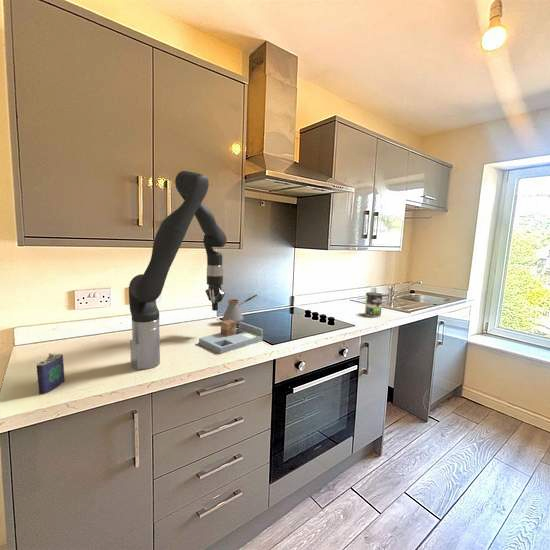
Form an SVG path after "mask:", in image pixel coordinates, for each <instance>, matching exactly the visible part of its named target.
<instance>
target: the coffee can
mask: <svg viewBox="0 0 550 550" xmlns="http://www.w3.org/2000/svg"><path fill="white" fill-rule="evenodd" d="M383 296H384V294H383V293H380V292H371V291H370V292H368V291H367V292H365V307H364V315H365V316H367V317H371V318H379V317H382V306H383Z"/></svg>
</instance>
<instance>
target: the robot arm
mask: <svg viewBox="0 0 550 550" xmlns="http://www.w3.org/2000/svg"><path fill="white" fill-rule="evenodd" d="M174 182H175V188H176V190H177V192H178V194H179V195H180V196H181V197H182V200H183V202H182V203H181V205H180V206H179V207H177V208H176V209H175V210H174V211H173V212H171V213H170V214H169V215H168V216H166V217H165V218H164V219H163V220H162V222H161V223H160V226H159V227H158V230H157V231H156V234H155V237H154V240H153V242H152V243H153V244H152V249H151V257H150V260H149V263H148V265H147V266H146V269H145V271H144V273H143V274H142V273H141V274H137V275H136V276H134V277H133V278H132V279H131V280H130V282H129V286H128V302H129V303H128V304H129V311H130V315H131V335H132V336H131V339H130V342H129V345H130V349H129V350H130V366H132V367H133V368H134V369H136V370H137V371H139V370H148V369H153V368H155V367H157V366H159V365H160V364H161V350H160V349H161V347H160V346H161V341H160V339H161V338H160V337H161V336H160V335H161V334H160V330H161V329H160V311H159V308H158V306H157V305H158V304H157V299H159V297H160V295H161V294H162V292H163V288H164V287H165V283H166V279H167V277H168V274H169V271H170V268H171V267H172V265H173V262H174V261H175V258H176V256H177V253H178V251H179V250H180V248H181V245H182V243H183V242H184V241H183V240H184V238H185V236H186V233H187V232H188V229H189V228H190V225H191V223H192V221H193V219H194V217H195V218H196V220H197V223H198V225H199V227H200V229H201V230H202V232H203V236H204V239H203V238H202V241H203V245H204V249H205V253H206V285H207V286H208V288H207V289H205V290H204V291H205V293H206V296H207V299H208V301H209V302H210V303H211V310H212V311H213V312H216V311H218V309H219V307H218V306H219V303H220V302H222V300H223V299H224V297H225V295H226V294H225V292H223V291H222V289H223V288H222V285H223V284H224V268H223V254H222V253H221V252H219V251H216V250H215V249H214V248H223V247H226V244H227V235H226V233H225V232H224V231H223V230H222V228H221V227H220V226H219V225H218V223H217V221H216V218H215V216H214V214H213V213H212V211H211V210H210V209H209V208H208V207H207V205H206V204H205V203H204V202H203V201H204V199H205V197H206V196H207V192H208V191H209V185H210V182H209V179H208V177H207V176H206V175H204V174H202V173H198V172H193V171H189V170H180V171H179V172H178V173H177V174H176V177H175V181H174ZM204 234H205V235H204ZM212 247H213V248H212Z"/></svg>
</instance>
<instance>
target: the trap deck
mask: <svg viewBox="0 0 550 550" xmlns="http://www.w3.org/2000/svg"><path fill="white" fill-rule="evenodd" d="M263 336H264V329H263V328H260V327H257V326H254V325H251V324H248V323H245V322H243V321H242V322H239V324H238V327H236V334H235V335H232V336H228V337H227V336H225V335H222V334H221V332H218V333H214V334H210V335H206V336H202V337H199V338H198V344H199V345H201V346H203V347H205V348H207V349H209V350H212V351H214V352H215V353H218V354H220V355H221V354H225V353H228V351H229V352H232V351H235V350H237V349H240V348H244V347H247V345H248V346H250V344H251V345H254V344H256V342H257V343H259V341H260V342H262V341H261V340H263V341H264V339H263V338H264V337H263ZM253 343H254V344H253ZM231 350H232V351H231Z"/></svg>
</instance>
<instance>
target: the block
mask: <svg viewBox="0 0 550 550" xmlns="http://www.w3.org/2000/svg"><path fill="white" fill-rule="evenodd" d="M236 329H237V325H236V322H235V321H232V320H225V321H223V320H222V321H220V333H221V334H222V335H225V336H227V337H228V336H232V335H235V334H236Z"/></svg>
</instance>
